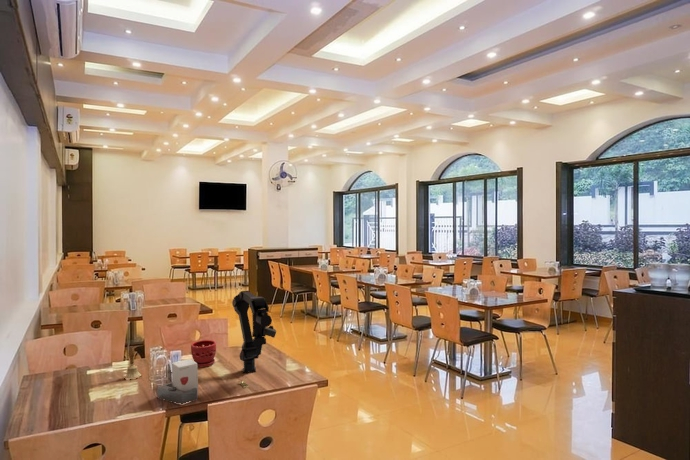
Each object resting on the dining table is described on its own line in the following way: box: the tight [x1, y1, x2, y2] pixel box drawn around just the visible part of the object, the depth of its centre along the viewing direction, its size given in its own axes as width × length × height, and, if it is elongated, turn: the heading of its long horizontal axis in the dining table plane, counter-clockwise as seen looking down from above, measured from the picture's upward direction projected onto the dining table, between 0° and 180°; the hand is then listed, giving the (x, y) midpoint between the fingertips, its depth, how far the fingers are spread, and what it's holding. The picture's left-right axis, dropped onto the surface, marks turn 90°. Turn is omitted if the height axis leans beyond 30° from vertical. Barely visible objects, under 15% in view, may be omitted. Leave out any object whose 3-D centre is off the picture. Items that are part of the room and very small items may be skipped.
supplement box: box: [171, 358, 199, 397], centre depth 213 cm, size 9×9×15 cm
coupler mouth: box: [157, 381, 198, 404], centre depth 210 cm, size 8×17×6 cm, turn 56°
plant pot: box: [190, 339, 217, 368], centre depth 258 cm, size 13×13×12 cm
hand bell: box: [124, 345, 142, 378], centre depth 240 cm, size 8×8×16 cm
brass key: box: [237, 380, 249, 389], centre depth 225 cm, size 8×3×1 cm, turn 37°
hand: (259, 354), depth 233 cm, fingers closed
